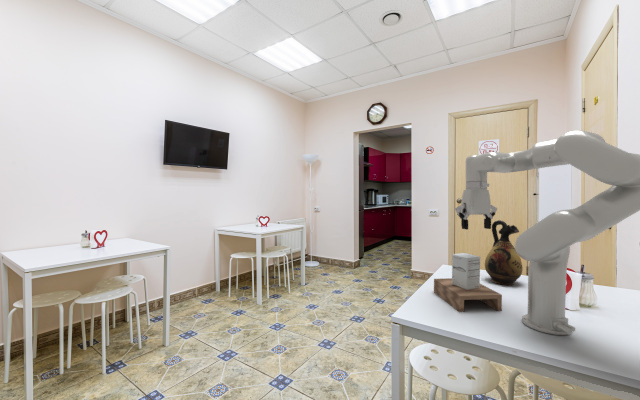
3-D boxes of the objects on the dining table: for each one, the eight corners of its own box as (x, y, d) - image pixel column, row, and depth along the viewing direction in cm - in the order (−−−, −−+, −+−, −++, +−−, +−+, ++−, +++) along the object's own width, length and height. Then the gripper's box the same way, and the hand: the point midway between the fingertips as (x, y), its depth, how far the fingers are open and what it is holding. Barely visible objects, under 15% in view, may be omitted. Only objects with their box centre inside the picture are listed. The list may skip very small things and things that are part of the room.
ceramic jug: (530, 285, 130) (531, 222, 130) (508, 289, 125) (509, 223, 124) (495, 275, 146) (496, 218, 145) (474, 278, 140) (475, 219, 140)
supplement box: (451, 284, 113) (451, 253, 113) (464, 282, 116) (465, 252, 116) (466, 290, 106) (467, 257, 106) (480, 288, 109) (480, 256, 109)
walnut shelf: (501, 310, 102) (501, 294, 102) (459, 312, 101) (460, 295, 101) (469, 291, 122) (469, 278, 122) (433, 292, 121) (434, 278, 121)
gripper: (489, 186, 115) (489, 227, 116) (450, 186, 114) (450, 228, 114) (503, 186, 108) (503, 229, 108) (461, 186, 106) (461, 230, 106)
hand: (476, 228), depth 111 cm, fingers open, 9 cm apart
